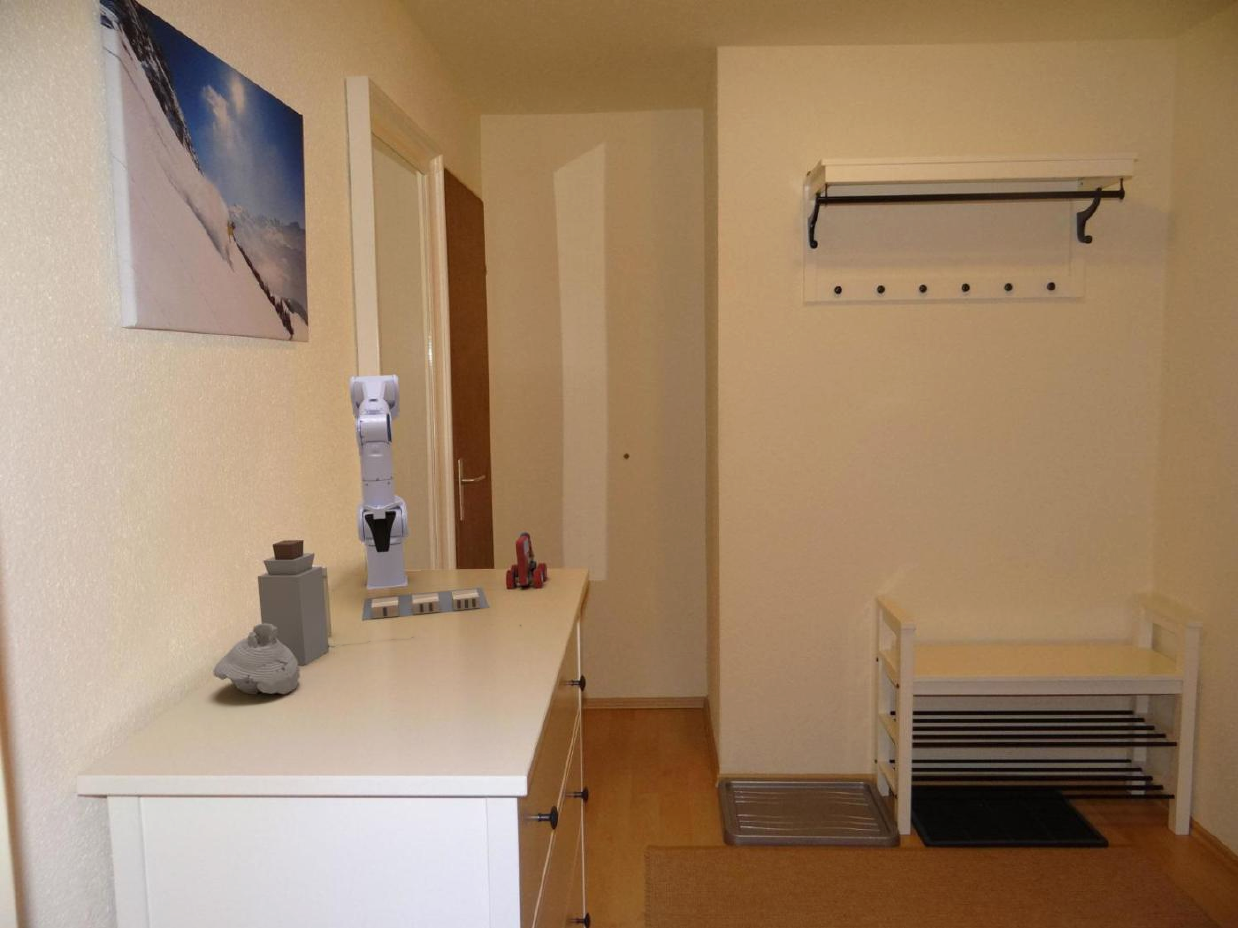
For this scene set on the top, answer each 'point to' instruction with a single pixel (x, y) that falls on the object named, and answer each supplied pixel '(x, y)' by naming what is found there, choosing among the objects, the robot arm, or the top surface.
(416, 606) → the tile two
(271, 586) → the perfume bottle
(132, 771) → the top surface
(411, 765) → the top surface
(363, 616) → the mat
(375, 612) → the tile one
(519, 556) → the red wheeled toy
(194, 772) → the top surface
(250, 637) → the grey clay mound
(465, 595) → the tile three
